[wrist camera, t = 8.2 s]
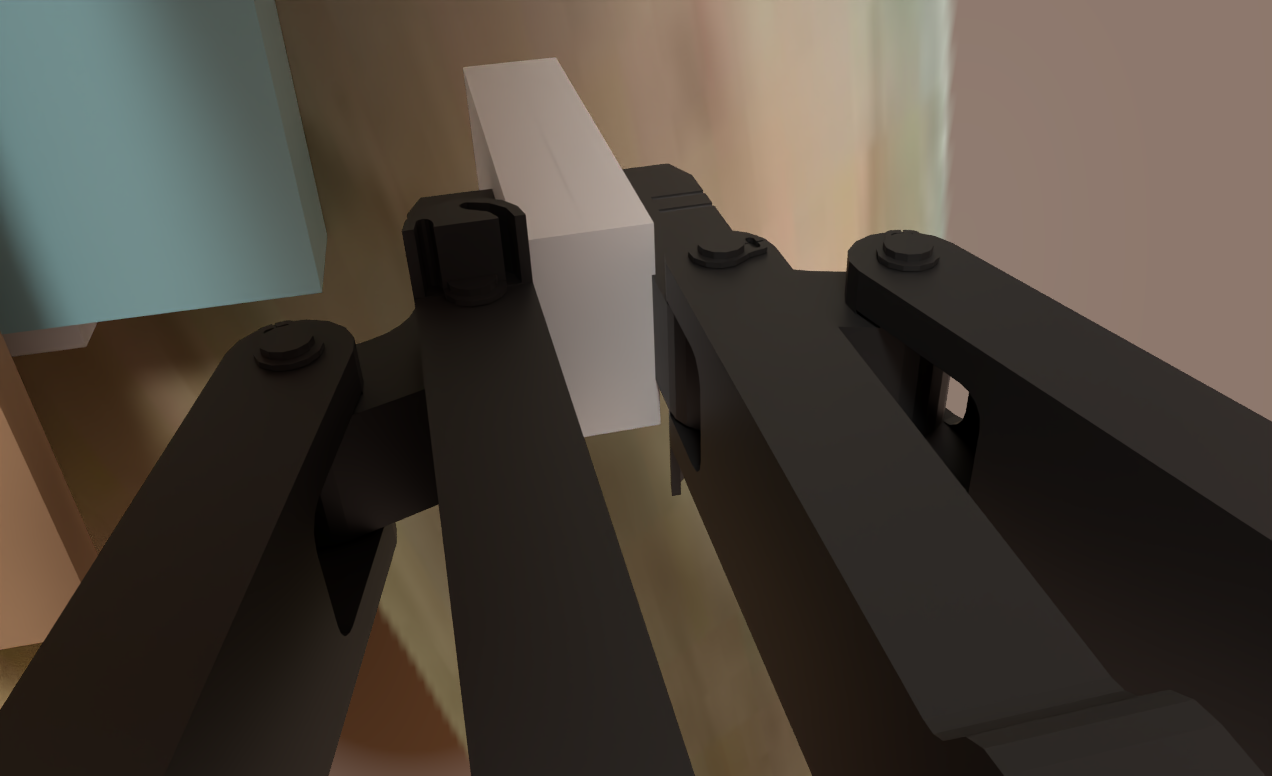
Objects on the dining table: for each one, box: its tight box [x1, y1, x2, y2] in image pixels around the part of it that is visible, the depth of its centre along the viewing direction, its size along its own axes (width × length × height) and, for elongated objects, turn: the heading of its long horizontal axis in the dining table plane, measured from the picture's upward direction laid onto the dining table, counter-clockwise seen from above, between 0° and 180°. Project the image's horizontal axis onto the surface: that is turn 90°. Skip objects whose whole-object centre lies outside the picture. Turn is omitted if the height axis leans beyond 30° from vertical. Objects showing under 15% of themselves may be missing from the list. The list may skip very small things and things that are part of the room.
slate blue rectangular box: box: [0, 0, 327, 334], centre depth 21 cm, size 11×8×3 cm
